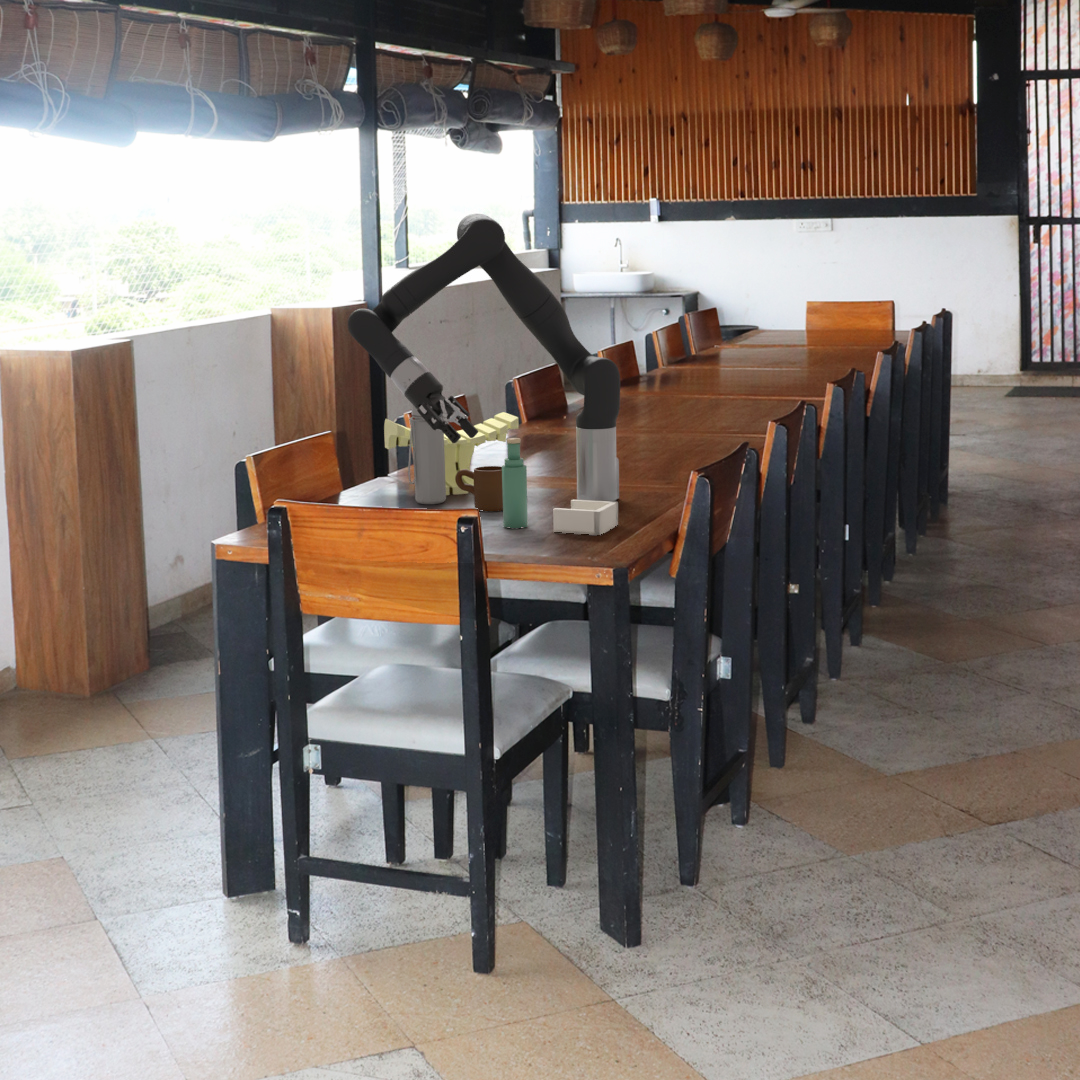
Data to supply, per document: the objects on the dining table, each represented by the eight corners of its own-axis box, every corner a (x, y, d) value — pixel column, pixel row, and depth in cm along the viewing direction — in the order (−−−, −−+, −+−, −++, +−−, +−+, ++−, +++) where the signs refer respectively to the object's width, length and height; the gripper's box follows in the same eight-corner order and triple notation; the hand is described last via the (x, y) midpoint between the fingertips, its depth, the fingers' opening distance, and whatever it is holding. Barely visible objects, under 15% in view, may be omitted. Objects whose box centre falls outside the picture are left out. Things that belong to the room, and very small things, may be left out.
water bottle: (436, 498, 324) (432, 393, 319) (452, 502, 317) (449, 395, 312) (402, 502, 319) (397, 396, 314) (417, 507, 312) (413, 398, 307)
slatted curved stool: (501, 479, 348) (500, 410, 344) (520, 489, 333) (518, 417, 330) (386, 488, 339) (383, 417, 336) (399, 498, 324) (396, 424, 321)
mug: (452, 511, 306) (450, 470, 305) (460, 505, 314) (459, 465, 312) (503, 512, 304) (502, 471, 302) (511, 506, 311) (510, 466, 310)
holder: (553, 532, 282) (553, 509, 280) (573, 522, 292) (572, 499, 291) (599, 535, 278) (599, 511, 277) (618, 525, 288) (617, 501, 287)
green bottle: (515, 523, 292) (513, 436, 288) (532, 526, 289) (531, 438, 285) (498, 527, 288) (496, 439, 284) (516, 530, 285) (514, 441, 281)
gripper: (411, 373, 283) (463, 430, 281) (442, 367, 296) (491, 421, 294) (390, 398, 286) (440, 454, 284) (421, 391, 299) (470, 445, 297)
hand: (466, 437), depth 289 cm, fingers open, 8 cm apart
